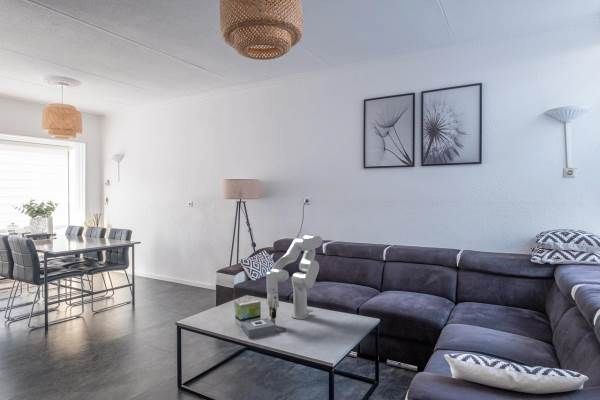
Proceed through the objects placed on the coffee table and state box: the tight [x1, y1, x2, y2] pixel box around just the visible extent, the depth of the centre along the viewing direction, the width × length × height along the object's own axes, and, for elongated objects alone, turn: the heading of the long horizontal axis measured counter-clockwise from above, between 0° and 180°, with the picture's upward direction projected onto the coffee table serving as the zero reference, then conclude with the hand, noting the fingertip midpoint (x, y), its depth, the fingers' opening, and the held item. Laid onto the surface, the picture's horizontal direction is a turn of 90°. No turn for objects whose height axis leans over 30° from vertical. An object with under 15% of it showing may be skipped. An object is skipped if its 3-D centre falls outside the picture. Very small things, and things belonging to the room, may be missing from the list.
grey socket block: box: [241, 318, 277, 339], centre depth 231 cm, size 18×14×6 cm
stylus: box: [270, 308, 276, 325], centre depth 241 cm, size 3×3×12 cm
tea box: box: [234, 298, 262, 328], centre depth 247 cm, size 15×10×15 cm, turn 123°
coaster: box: [276, 326, 287, 334], centre depth 232 cm, size 8×8×1 cm
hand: (272, 316), depth 241 cm, fingers closed on stylus, 3 cm apart
